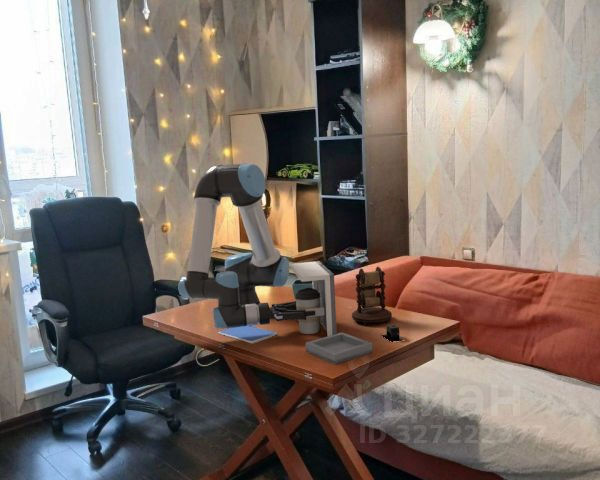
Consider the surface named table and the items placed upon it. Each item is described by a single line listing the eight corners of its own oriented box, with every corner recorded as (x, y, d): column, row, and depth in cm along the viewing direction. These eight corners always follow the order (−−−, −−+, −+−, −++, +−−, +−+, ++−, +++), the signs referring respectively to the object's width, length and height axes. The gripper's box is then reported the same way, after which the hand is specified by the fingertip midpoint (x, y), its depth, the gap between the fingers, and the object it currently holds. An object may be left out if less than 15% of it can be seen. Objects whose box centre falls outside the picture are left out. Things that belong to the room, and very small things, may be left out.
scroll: (382, 312, 227) (380, 262, 223) (398, 323, 213) (397, 269, 209) (346, 317, 223) (344, 266, 219) (360, 328, 209) (358, 273, 205)
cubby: (293, 322, 220) (290, 263, 217) (322, 319, 222) (319, 261, 218) (305, 342, 197) (301, 277, 193) (337, 339, 199) (334, 274, 195)
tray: (306, 351, 188) (305, 342, 188) (342, 340, 196) (342, 332, 196) (335, 364, 176) (334, 354, 175) (372, 352, 184) (372, 343, 184)
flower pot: (295, 299, 253) (294, 279, 251) (316, 299, 251) (315, 279, 250) (292, 305, 244) (291, 284, 243) (313, 305, 243) (312, 283, 241)
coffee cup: (320, 335, 204) (317, 293, 201) (294, 334, 206) (292, 293, 203) (324, 327, 213) (322, 286, 210) (299, 326, 214) (297, 286, 212)
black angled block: (410, 343, 192) (410, 330, 191) (390, 346, 190) (389, 333, 189) (395, 332, 204) (394, 319, 203) (375, 335, 202) (375, 322, 201)
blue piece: (217, 334, 212) (216, 331, 212) (243, 326, 221) (243, 322, 221) (251, 345, 198) (251, 341, 198) (278, 335, 207) (278, 332, 207)
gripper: (255, 316, 216) (315, 310, 220) (261, 333, 195) (328, 326, 199) (254, 296, 215) (314, 290, 218) (260, 311, 194) (327, 305, 198)
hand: (321, 307), depth 209 cm, fingers closed on coffee cup, 8 cm apart
